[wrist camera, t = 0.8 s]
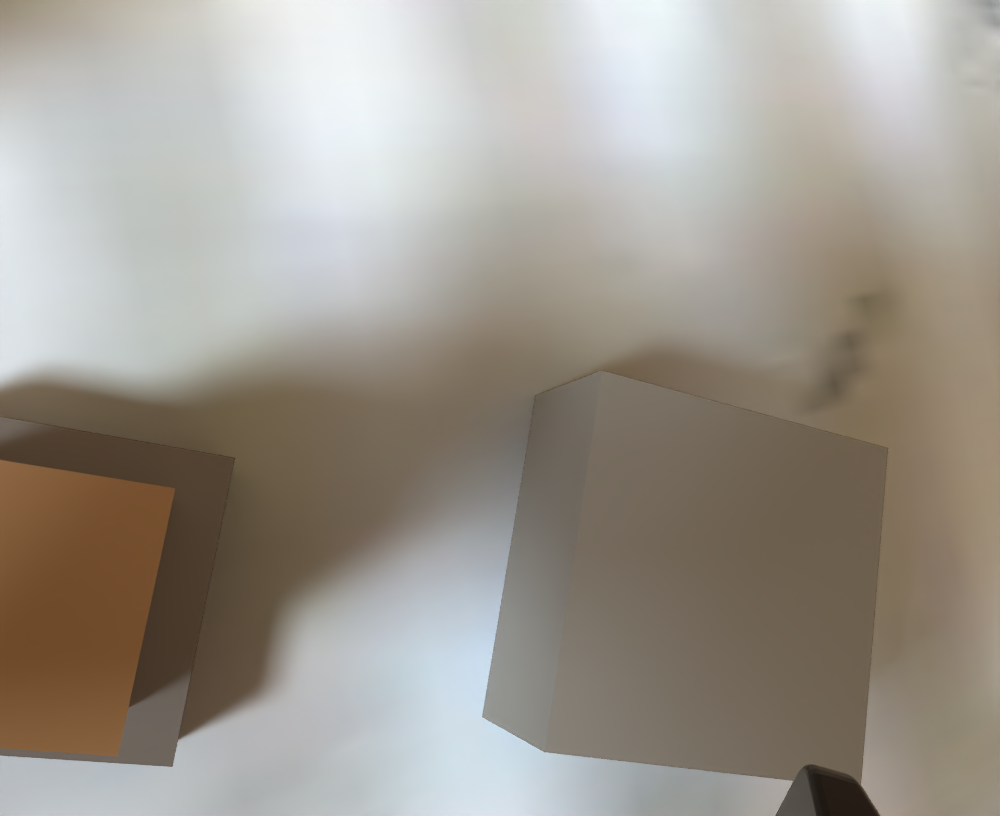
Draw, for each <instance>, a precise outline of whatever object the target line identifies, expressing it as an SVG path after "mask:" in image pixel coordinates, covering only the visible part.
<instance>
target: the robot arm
mask: <svg viewBox="0 0 1000 816" xmlns="http://www.w3.org/2000/svg"><path fill="white" fill-rule="evenodd" d="M776 816H880V814H879V813H878V811H877V810H876V808H875V806H874V805H873V803H872V802H871V800H870V799H869V797H868V795H867V794H866V792H865V791H864V789H863V788H862V786H861V785H860V783H859V782H858V781H857V780H856V779H855V778H854V777H852V776H851V775H849V774H846V773H843V772H839V771H835V770H832V769H828V768H825V767H821V766H818V765H814V764H808V765H805V766H804V767H803V768H801V770H800V771H799V772H798V774H797V776H796V778H795V780H794V781H793V783H792V785H791V787H790V789H789V791H788V793H787V795H786V797H785V799H784V801H783V802H782V804H781V806H780V808H779V810H778V812H777V814H776Z"/></svg>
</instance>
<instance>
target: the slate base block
mask: <svg viewBox="0 0 1000 816" xmlns="http://www.w3.org/2000/svg"><path fill="white" fill-rule="evenodd" d="M887 454H888V448H886V447H882V446H879V445H875V444H871V443H867V442H864V441H860V440H856V439H853V438H849V437H845V436H842V435H838V434H834V433H831V432H827V431H823V430H820V429H816V428H812V427H809V426H805V425H801V424H798V423H794V422H790V421H786V420H783V419H779V418H775V417H772V416H768V415H764V414H761V413H757V412H753V411H750V410H746V409H742V408H739V407H735V406H731V405H728V404H724V403H720V402H717V401H713V400H709V399H705V398H702V397H698V396H694V395H691V394H687V393H683V392H680V391H676V390H672V389H669V388H665V387H661V386H658V385H654V384H650V383H647V382H643V381H639V380H636V379H632V378H628V377H624V376H621V375H617V374H613V373H610V372H606V371H599V372H596V373H594V374H591V375H588V376H586V377H583V378H580V379H578V380H575V381H573V382H570V383H567V384H565V385H562V386H559V387H557V388H554V389H551V390H549V391H546V392H544V393H541V394H538V395H536V396H535V402H534V408H533V414H532V420H531V426H530V432H529V438H528V444H527V450H526V456H525V462H524V468H523V474H522V480H521V486H520V492H519V498H518V504H517V510H516V516H515V522H514V528H513V534H512V540H511V546H510V552H509V558H508V564H507V570H506V576H505V582H504V588H503V594H502V600H501V606H500V613H499V619H498V625H497V631H496V637H495V643H494V649H493V655H492V661H491V667H490V673H489V679H488V685H487V691H486V697H485V703H484V709H483V715H482V717H483V718H485V719H487V720H489V721H490V722H492V723H494V724H496V725H497V726H499V727H501V728H503V729H505V730H506V731H508V732H510V733H512V734H513V735H515V736H517V737H519V738H520V739H522V740H524V741H526V742H528V743H529V744H531V745H533V746H535V747H536V748H538V749H540V750H542V751H544V752H549V753H557V754H566V755H575V756H584V757H592V758H601V759H610V760H618V761H627V762H636V763H645V764H653V765H662V766H671V767H680V768H688V769H697V770H706V771H714V772H723V773H732V774H741V775H749V776H758V777H767V778H775V779H784V780H793V781H794V780H795V778H796V776H797V774H798V772H799V771H800V770H801V768H803V767H804V766H805V765H808V764H814V765H818V766H821V767H825V768H828V769H832V770H835V771H839V772H843V773H846V774H849V775H851V776H852V777H854V778H855V779H856V780H857V781H858V782H859V783H860V785H861V777H862V765H863V752H864V740H865V727H866V715H867V702H868V690H869V677H870V665H871V653H872V640H873V628H874V615H875V603H876V590H877V578H878V566H879V553H880V541H881V528H882V516H883V503H884V491H885V478H886V466H887Z"/></svg>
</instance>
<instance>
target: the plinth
mask: <svg viewBox="0 0 1000 816" xmlns="http://www.w3.org/2000/svg"><path fill="white" fill-rule="evenodd" d="M234 460H235V458H233V457H227V456H221V455H216V454H210V453H204V452H199V451H193V450H187V449H182V448H176V447H170V446H165V445H159V444H153V443H148V442H142V441H136V440H130V439H125V438H119V437H113V436H108V435H102V434H96V433H91V432H85V431H79V430H74V429H68V428H62V427H57V426H51V425H45V424H40V423H34V422H28V421H23V420H17V419H11V418H6V417H0V755H2V756H17V757H32V758H48V759H63V760H78V761H93V762H108V763H123V764H139V765H154V766H169V767H172V766H173V761H174V756H175V751H176V747H177V742H178V737H179V732H180V727H181V722H182V717H183V712H184V707H185V702H186V697H187V692H188V687H189V682H190V677H191V672H192V667H193V663H194V658H195V653H196V648H197V643H198V638H199V633H200V628H201V623H202V618H203V613H204V608H205V603H206V598H207V593H208V588H209V583H210V579H211V574H212V569H213V564H214V559H215V554H216V549H217V544H218V539H219V534H220V529H221V524H222V519H223V514H224V509H225V504H226V499H227V494H228V490H229V485H230V480H231V475H232V470H233V465H234Z"/></svg>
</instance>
